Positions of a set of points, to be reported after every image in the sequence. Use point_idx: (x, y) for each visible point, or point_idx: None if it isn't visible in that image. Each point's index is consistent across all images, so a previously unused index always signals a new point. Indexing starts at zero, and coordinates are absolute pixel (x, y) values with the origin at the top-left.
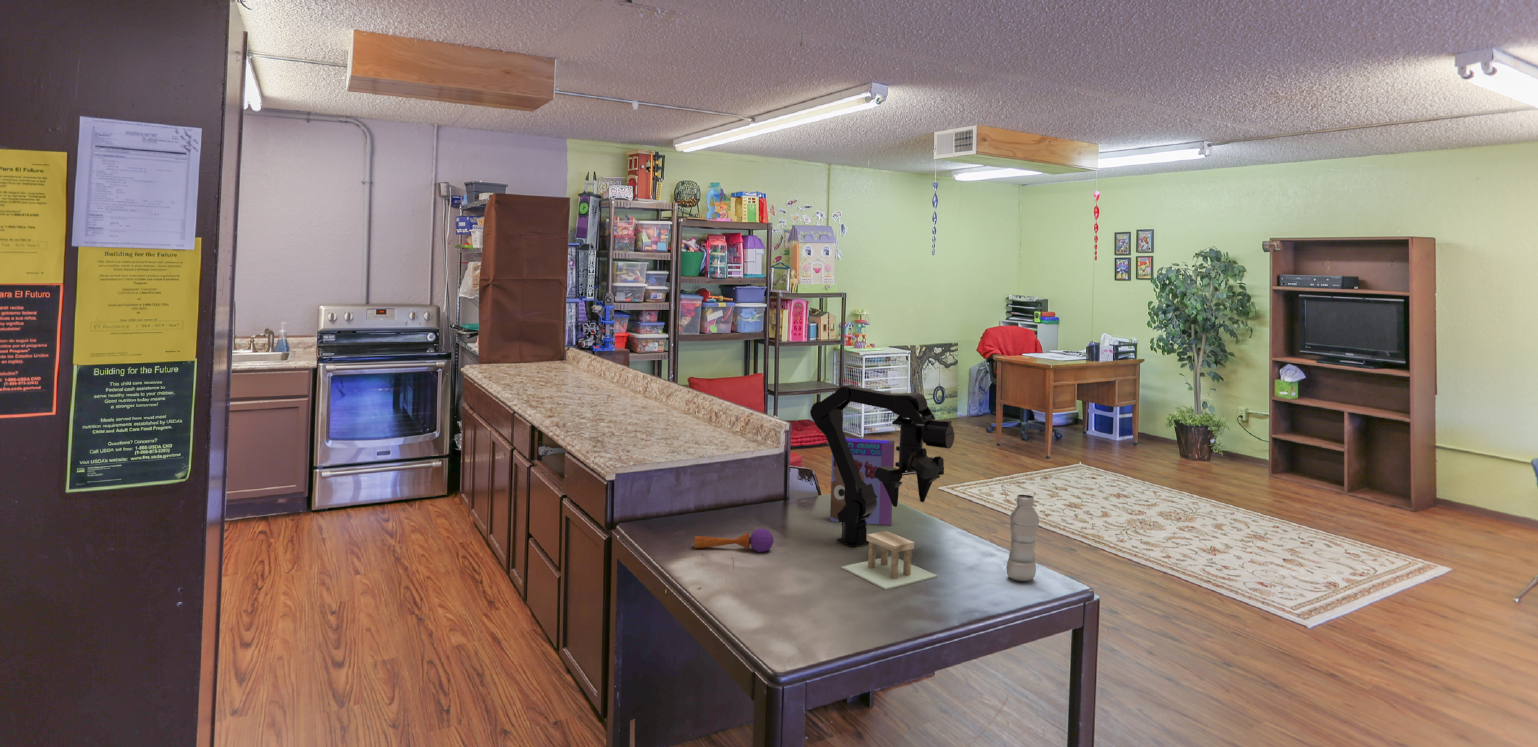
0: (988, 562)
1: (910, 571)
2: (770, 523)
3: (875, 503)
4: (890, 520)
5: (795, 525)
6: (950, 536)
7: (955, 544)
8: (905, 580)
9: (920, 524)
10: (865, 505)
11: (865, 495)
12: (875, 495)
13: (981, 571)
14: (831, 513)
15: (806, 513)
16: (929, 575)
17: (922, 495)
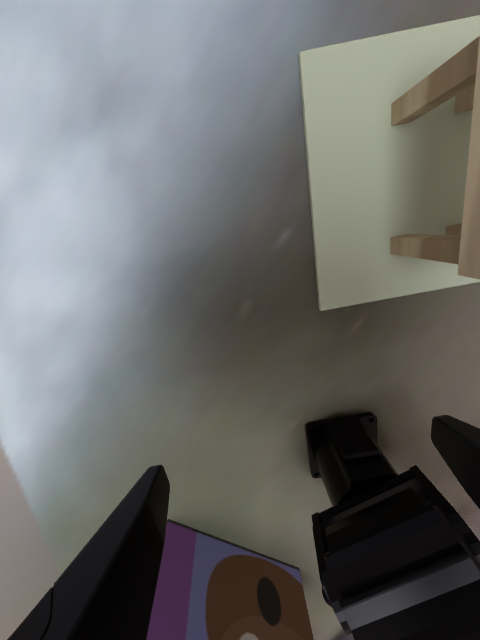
0: (5, 138)
1: (400, 97)
2: None
3: (341, 562)
4: (167, 536)
5: None
6: (33, 415)
7: (50, 350)
8: (448, 52)
9: (80, 512)
10: (448, 535)
11: (468, 616)
12: (355, 620)
13: (84, 43)
14: (302, 594)
15: (314, 613)
16: (328, 66)
17: (148, 524)
